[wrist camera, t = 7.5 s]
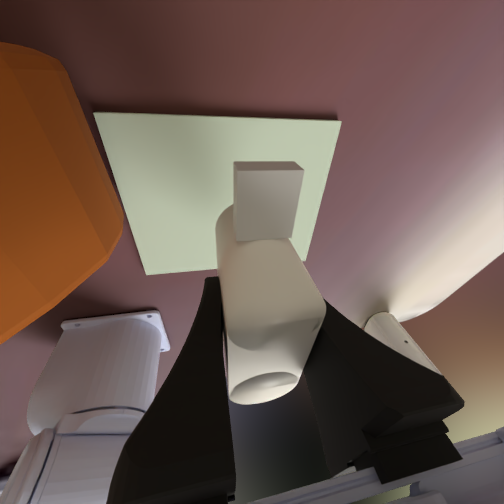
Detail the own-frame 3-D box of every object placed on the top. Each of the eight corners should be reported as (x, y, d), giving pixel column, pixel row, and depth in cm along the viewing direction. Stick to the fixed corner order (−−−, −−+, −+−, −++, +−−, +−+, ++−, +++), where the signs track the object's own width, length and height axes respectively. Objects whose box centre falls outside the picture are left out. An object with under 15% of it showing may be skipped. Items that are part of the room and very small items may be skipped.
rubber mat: (147, 271, 21) (146, 274, 21) (96, 111, 13) (93, 112, 13) (303, 257, 24) (305, 260, 24) (338, 120, 16) (341, 121, 16)
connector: (219, 313, 15) (229, 409, 11) (210, 143, 9) (223, 210, 4) (265, 308, 16) (292, 396, 11) (288, 144, 9) (370, 204, 5)
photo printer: (367, 314, 34) (433, 405, 25) (393, 308, 35) (466, 395, 25) (353, 347, 41) (400, 429, 31) (374, 342, 41) (428, 422, 32)
